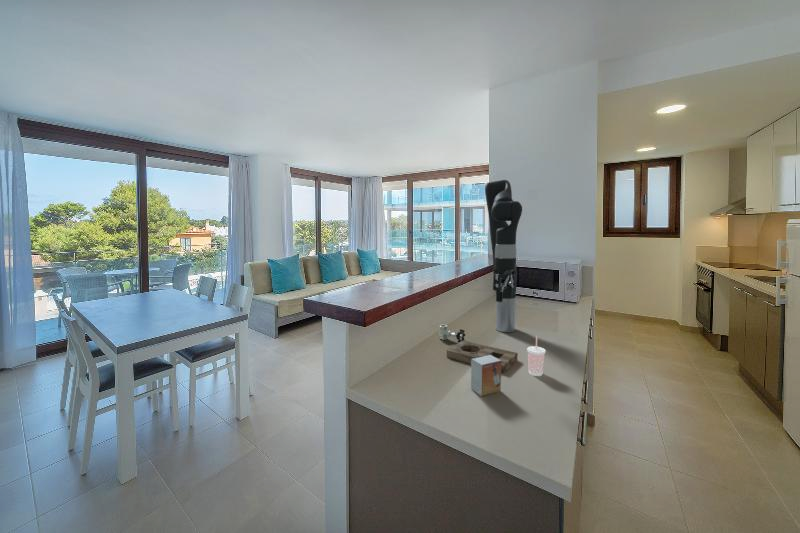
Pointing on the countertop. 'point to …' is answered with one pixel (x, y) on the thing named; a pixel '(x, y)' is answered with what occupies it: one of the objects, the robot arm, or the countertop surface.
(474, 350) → the socket plate
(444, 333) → the valve
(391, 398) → the countertop surface
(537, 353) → the beverage cup
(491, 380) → the small box
